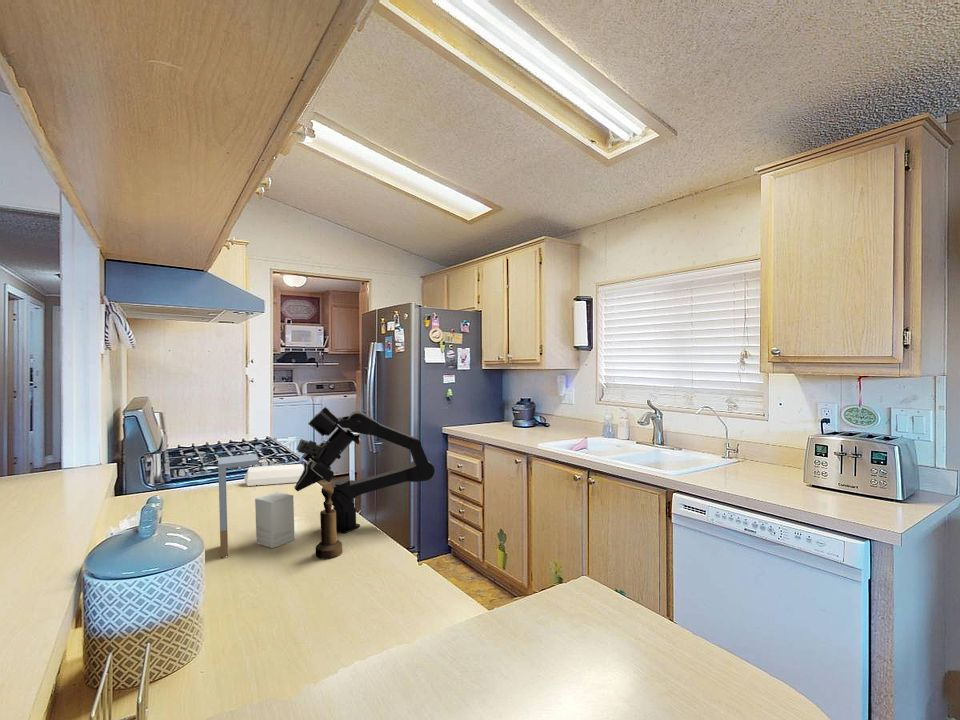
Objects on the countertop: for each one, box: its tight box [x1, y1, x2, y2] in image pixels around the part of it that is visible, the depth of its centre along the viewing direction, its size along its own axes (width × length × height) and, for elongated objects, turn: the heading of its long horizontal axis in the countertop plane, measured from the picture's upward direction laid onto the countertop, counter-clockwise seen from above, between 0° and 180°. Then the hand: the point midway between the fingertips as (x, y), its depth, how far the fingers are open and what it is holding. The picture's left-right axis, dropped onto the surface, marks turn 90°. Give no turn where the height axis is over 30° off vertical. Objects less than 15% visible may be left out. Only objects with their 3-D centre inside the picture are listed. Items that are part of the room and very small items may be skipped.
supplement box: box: [254, 491, 296, 549], centre depth 133 cm, size 7×7×13 cm
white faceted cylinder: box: [243, 463, 304, 487], centre depth 194 cm, size 7×7×24 cm
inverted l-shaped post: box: [217, 453, 260, 558], centre depth 129 cm, size 9×9×24 cm
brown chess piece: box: [315, 483, 343, 559], centre depth 125 cm, size 7×6×18 cm
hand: (295, 489), depth 136 cm, fingers closed
